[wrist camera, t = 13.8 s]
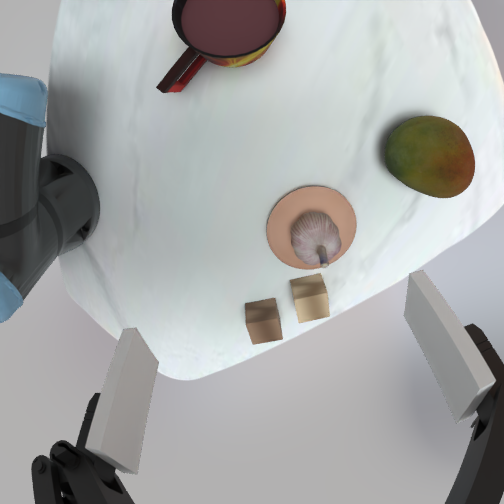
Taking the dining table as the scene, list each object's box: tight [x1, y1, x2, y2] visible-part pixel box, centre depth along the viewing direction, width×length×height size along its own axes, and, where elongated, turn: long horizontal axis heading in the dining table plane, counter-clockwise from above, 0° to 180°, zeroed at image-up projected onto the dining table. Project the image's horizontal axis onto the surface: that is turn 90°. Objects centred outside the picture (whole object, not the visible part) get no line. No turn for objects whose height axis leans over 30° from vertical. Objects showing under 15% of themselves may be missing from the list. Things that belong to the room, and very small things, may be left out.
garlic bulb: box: [290, 212, 342, 268], centre depth 39 cm, size 8×7×8 cm
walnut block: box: [245, 298, 283, 345], centre depth 49 cm, size 5×5×5 cm
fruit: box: [385, 116, 475, 198], centre depth 33 cm, size 12×13×10 cm
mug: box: [156, 0, 286, 93], centre depth 25 cm, size 10×14×12 cm
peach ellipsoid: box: [267, 186, 356, 269], centre depth 43 cm, size 13×13×1 cm
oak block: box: [290, 273, 330, 323], centre depth 47 cm, size 5×5×5 cm
